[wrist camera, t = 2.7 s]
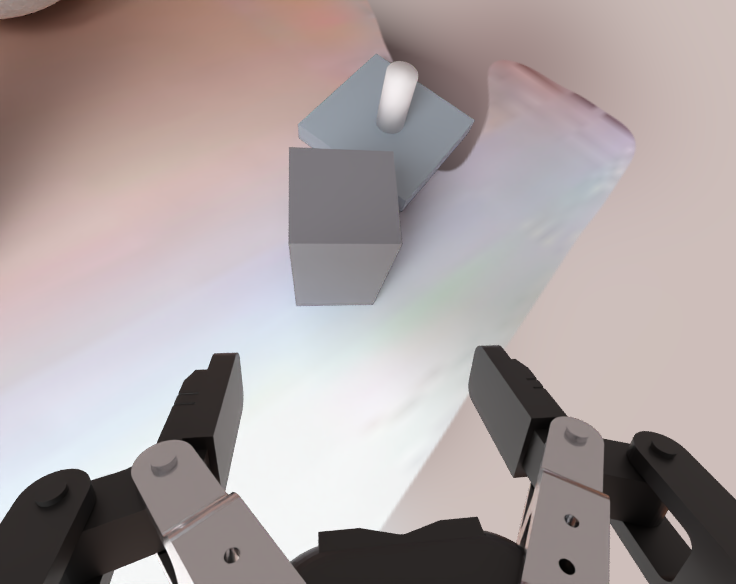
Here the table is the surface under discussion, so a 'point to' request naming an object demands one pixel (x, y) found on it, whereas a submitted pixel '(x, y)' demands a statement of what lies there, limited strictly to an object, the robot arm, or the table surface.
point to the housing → (341, 224)
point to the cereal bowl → (22, 7)
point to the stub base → (363, 135)
